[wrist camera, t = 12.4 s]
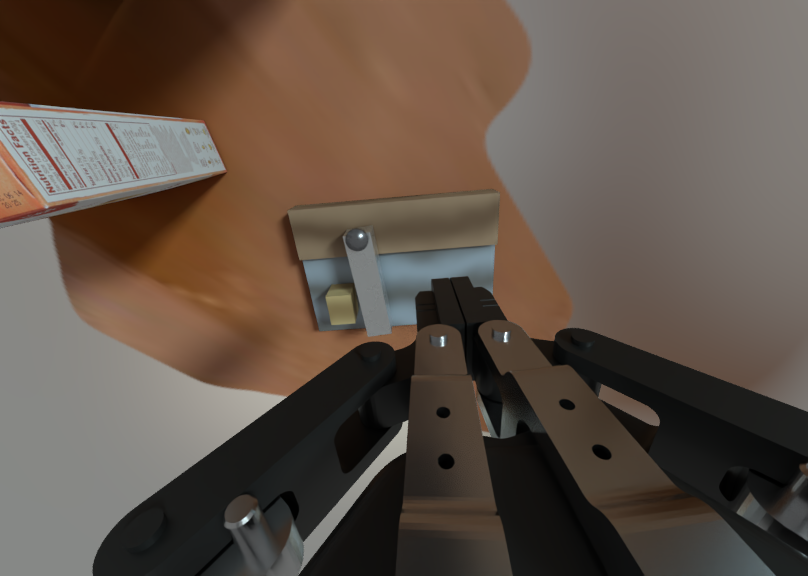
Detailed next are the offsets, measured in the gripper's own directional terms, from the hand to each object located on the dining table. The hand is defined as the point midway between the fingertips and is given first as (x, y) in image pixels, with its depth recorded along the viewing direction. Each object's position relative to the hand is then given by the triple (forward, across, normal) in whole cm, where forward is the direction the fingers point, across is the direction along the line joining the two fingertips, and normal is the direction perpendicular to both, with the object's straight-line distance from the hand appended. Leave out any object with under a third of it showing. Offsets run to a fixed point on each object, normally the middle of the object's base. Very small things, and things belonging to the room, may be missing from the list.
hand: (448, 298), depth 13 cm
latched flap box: (+27, +3, +9) cm, 28 cm away
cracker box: (+27, +29, -6) cm, 40 cm away
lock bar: (+24, +7, +9) cm, 26 cm away
